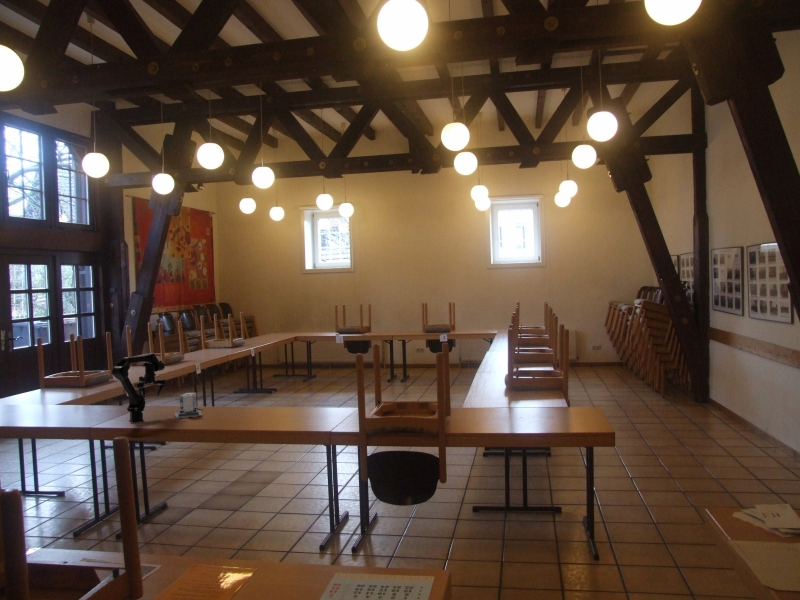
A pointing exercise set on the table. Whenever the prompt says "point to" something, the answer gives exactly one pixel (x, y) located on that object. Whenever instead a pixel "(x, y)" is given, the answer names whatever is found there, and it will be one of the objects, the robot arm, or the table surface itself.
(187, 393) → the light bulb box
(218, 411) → the table surface
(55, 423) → the table surface
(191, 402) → the block
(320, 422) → the table surface
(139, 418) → the robot arm
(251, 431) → the table surface
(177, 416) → the dock
